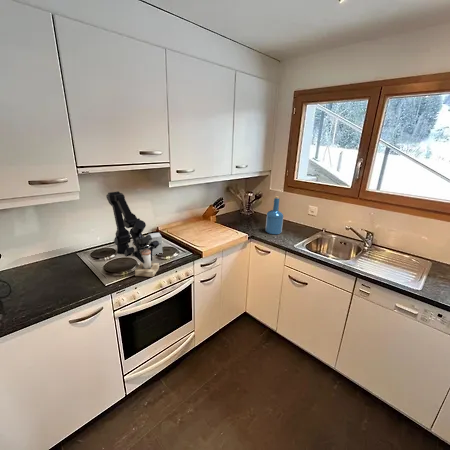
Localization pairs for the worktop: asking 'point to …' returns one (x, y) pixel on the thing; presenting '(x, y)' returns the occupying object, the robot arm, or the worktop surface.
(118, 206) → the robot arm
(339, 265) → the worktop surface
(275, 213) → the wine bottle
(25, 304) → the worktop surface
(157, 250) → the supplement box
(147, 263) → the white pink cylinder
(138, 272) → the beige square frame
